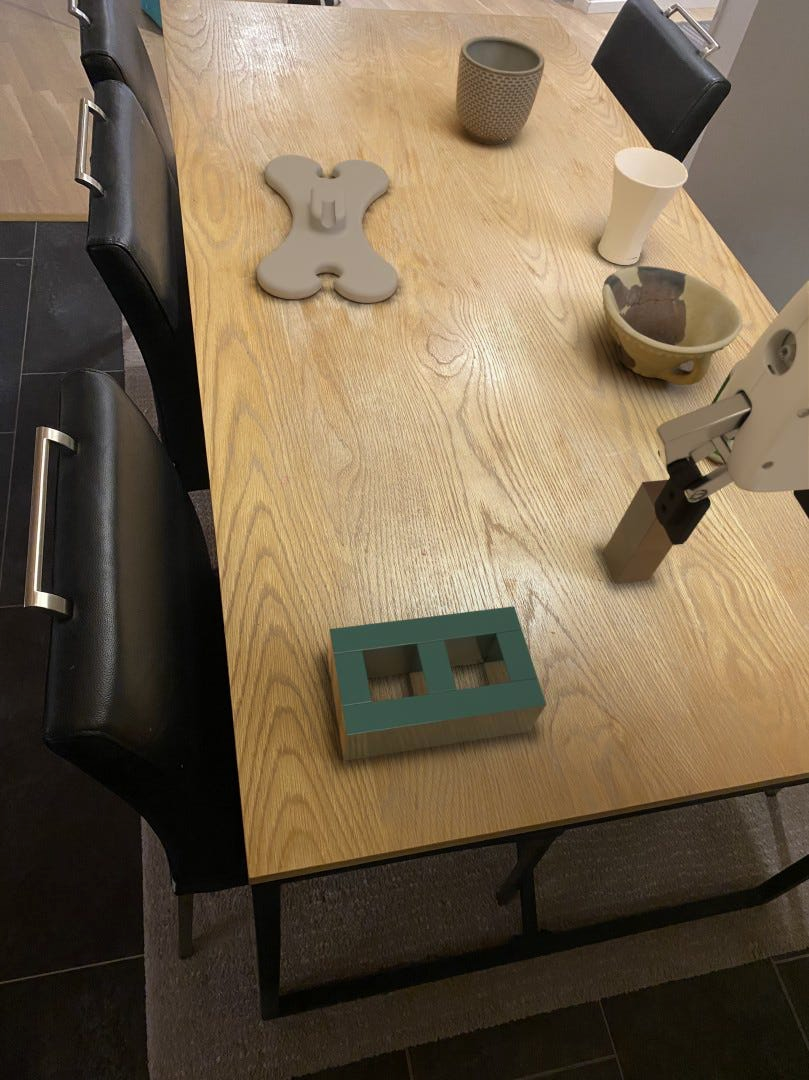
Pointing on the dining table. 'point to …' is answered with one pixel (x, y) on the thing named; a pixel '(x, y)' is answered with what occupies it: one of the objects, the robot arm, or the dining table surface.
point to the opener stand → (432, 682)
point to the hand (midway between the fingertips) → (739, 518)
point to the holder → (327, 231)
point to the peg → (638, 538)
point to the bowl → (667, 322)
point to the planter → (496, 86)
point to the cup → (638, 200)
